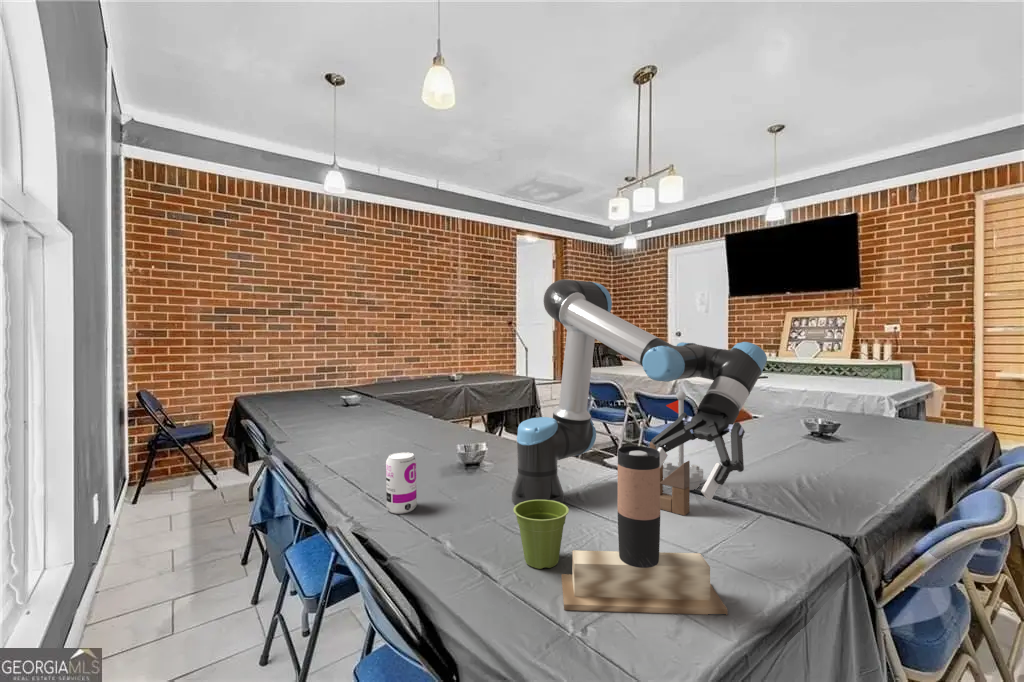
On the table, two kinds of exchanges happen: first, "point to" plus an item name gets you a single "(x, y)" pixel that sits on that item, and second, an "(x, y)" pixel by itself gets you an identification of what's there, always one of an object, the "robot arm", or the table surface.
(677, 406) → the flag stand
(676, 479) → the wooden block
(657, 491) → the travel mug
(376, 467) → the table surface
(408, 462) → the supplement can
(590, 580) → the ridge
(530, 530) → the plant pot
